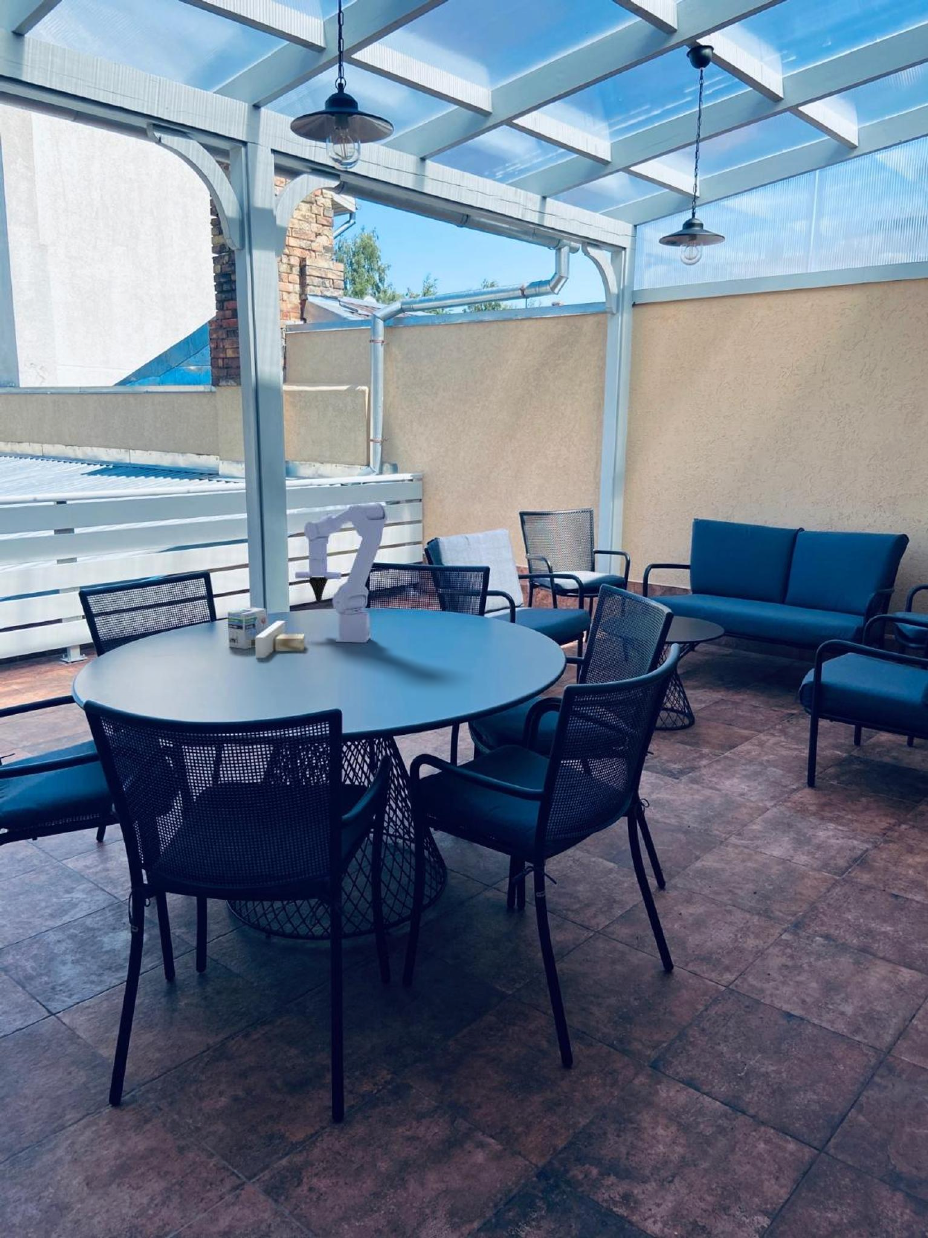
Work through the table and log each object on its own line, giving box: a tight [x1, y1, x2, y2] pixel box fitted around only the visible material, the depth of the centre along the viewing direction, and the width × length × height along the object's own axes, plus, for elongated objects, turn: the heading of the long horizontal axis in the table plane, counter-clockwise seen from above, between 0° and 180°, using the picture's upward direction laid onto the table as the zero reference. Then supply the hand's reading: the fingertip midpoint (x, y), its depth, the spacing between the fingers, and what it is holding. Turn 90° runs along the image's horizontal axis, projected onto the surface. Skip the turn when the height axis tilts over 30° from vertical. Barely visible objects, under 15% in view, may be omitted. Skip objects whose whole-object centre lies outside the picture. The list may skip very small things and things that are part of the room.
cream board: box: [254, 620, 286, 659], centre depth 267 cm, size 2×24×6 cm, turn 177°
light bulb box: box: [227, 606, 268, 650], centre depth 271 cm, size 11×7×11 cm, turn 154°
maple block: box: [275, 633, 306, 652], centre depth 267 cm, size 8×6×4 cm
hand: (318, 600), depth 288 cm, fingers closed
